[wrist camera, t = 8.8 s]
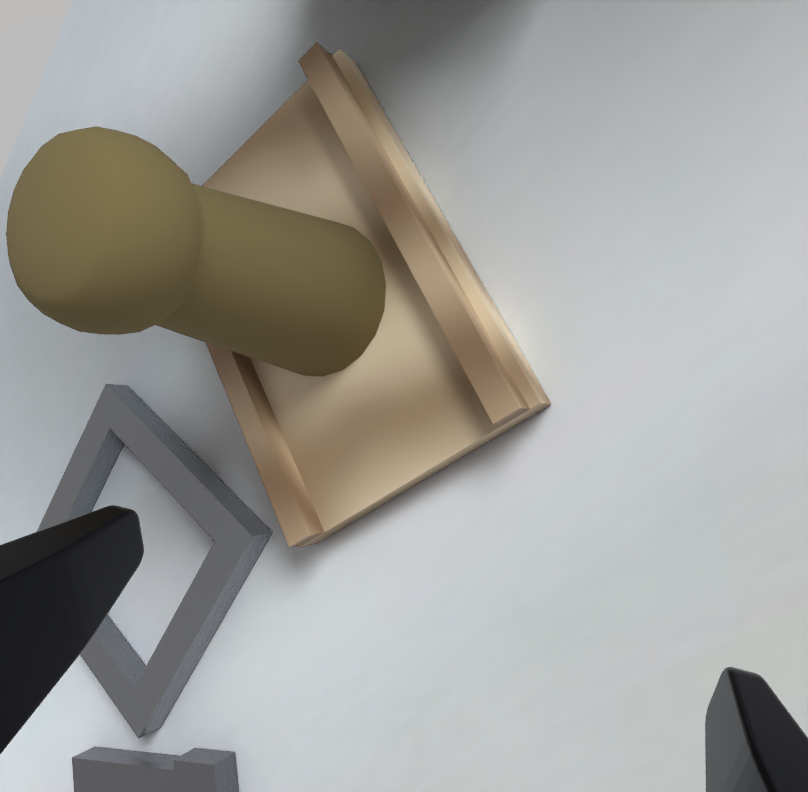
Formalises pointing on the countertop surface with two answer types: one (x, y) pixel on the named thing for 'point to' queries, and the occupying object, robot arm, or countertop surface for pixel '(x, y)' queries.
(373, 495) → the tray
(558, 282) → the countertop surface
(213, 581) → the socket collar
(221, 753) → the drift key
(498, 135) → the countertop surface
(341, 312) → the cork
